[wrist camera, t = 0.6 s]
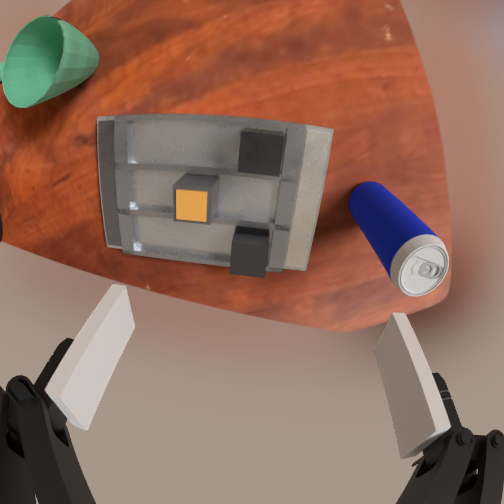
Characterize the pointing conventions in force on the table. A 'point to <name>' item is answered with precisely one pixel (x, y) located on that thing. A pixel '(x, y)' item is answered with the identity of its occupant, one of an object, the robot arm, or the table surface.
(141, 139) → the panel
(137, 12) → the table surface
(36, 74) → the mug
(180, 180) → the block
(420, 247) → the beverage can
